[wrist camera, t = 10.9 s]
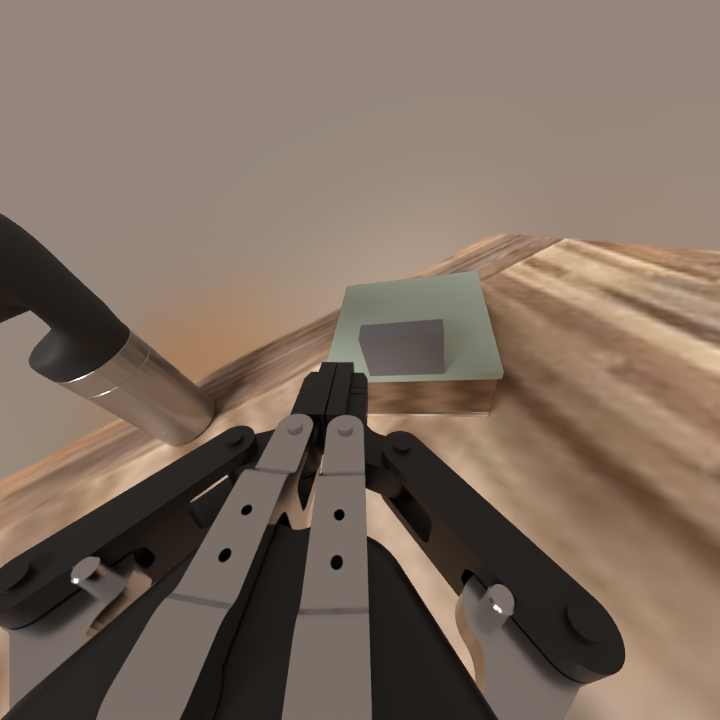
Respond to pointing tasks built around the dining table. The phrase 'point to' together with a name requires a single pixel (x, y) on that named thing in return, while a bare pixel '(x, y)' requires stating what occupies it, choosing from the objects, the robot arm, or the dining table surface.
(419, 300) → the lid
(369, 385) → the chest
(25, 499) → the dining table surface
